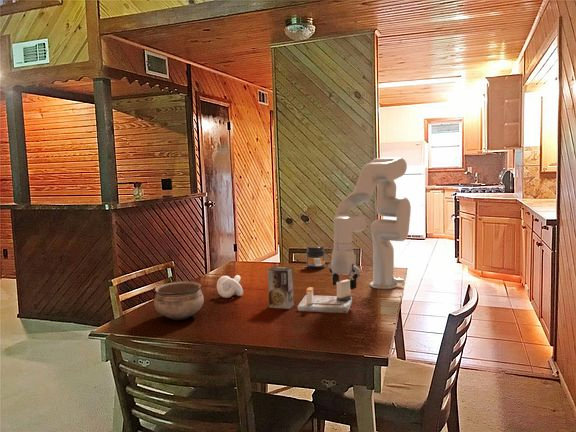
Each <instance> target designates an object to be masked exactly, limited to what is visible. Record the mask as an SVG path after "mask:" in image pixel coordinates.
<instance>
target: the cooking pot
mask: <svg viewBox="0 0 576 432" xmlns="http://www.w3.org/2000/svg"><path fill="white" fill-rule="evenodd" d="M201 287H202V284H201V283H199V282H195V281H174V282H169V283H168V282H167V283H164V284H161V285H158V286H157V287H155V292H156V293H155V296H154V301H153V303H154V304H153V305H154V308H155V310H156V312H157V313H159V314H160V315H161V316H163V317H166V318H168V319H170V320H173V321H184V320H187V319H188V318H190V317H192V316H193V315H195V314H196V313H197V312H199V310H200V309H201V308H202V307H203V304H204V302H205V300H204V299H205V298H204V294H203V291H202V289H201Z"/></svg>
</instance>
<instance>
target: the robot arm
mask: <svg viewBox="0 0 576 432" xmlns="http://www.w3.org/2000/svg"><path fill="white" fill-rule="evenodd" d="M407 168H408V166H407V162H406V160H405V159H404V158H403V157H399V156H398V157H377V158H373V159H372V160H370V162H368V163H365V164H364V165H363V166H362V168H361V171H360V173H359V176H358V179H357V182H356V185H355V187H354V190H353V191H352V192H351V193H349V194H348V195H347V196H346V197H345V198H344V199H343V200H342V201H341V202H340V203H339V204H338V206H337V209H336V210H335V211H336V212H335V214H334V217H333V223H332V224H333V242H332V245H333V249H332V252H331V261H330V263H328V264H327V266H328V268H329V272H330V275H331V276H332V286H337V284H336V282H339V281H340V275H344V276H348V277H349V278H350V279H349V280H350V289H351V290H355V289H357V279H358V278H359V277H360V274H361V272H362V270H361V268H359V267H358V266H357V265H356V257H355V252H354V249H353V233H361V232H364V231H365V229H366V228H367V225H368V220H367V218H366V216H364V215H363V214H361V213H360V214H358V213H350V211H352V210H353V209H354V208H355V207H358V206H359V205H362V204H364V203H367V202H369V201H370V200H372V199H373V197H374V195H375V190H376V188H377V194H376V195H377V196H376V204H375V211H376V213H377V215H378V216H381V217H388V218H396V219H385V218H383V219H381V218H380V219H379V218H378V219H376V220H373V221H372V222H371V225H370V235H371V240H372V241H371V242H372V275H373V277H372V281H371V282H370V283H369V286H370V287H371V288H374V289H379V290H388V289H389V290H391V289H394V288H397V287H398V284H404V278H400V277H398V278H397V277H395V273H394V272H395V269H394V267H395V265H394V264H395V263H394V262H395V259H394V256H395V255H394V254H395V253H394V251H395V250H394V246H393V244H392V243H391V242H392V241H394V242H404V241H405V240H407V238H408V236H409V231H410V223H411V222H410V221H411V203H410V200H409V199H408V198H407V197H406V196H397V184H396V182H395V180H397V179H399V178H401V177H403V176H404V175H405V173H406V172H407Z"/></svg>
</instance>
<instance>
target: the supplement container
mask: <svg viewBox="0 0 576 432" xmlns="http://www.w3.org/2000/svg"><path fill="white" fill-rule="evenodd" d="M306 250H307V251H306V252H305V253H306V256H305V257H306V268H308V269H310V270H321V269H323V268H325V267H326V259H325V258H326V257H325V256H326V255H325V254H326V252H325V246H324V245H320V244H314V245H312V244H311V245H307V246H306Z"/></svg>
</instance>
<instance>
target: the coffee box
mask: <svg viewBox="0 0 576 432" xmlns="http://www.w3.org/2000/svg"><path fill="white" fill-rule="evenodd" d="M293 274H294V273H293V267H292V266H291V267H289V266H272V267H270V268H269V269H267V282H268V283H267V284H268V285H267V286H268V308H270V309H285V310H289V309H291V308H292V307H293V306H294V304H295V302H294V300H295V299H294V277H293V276H294V275H293Z"/></svg>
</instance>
